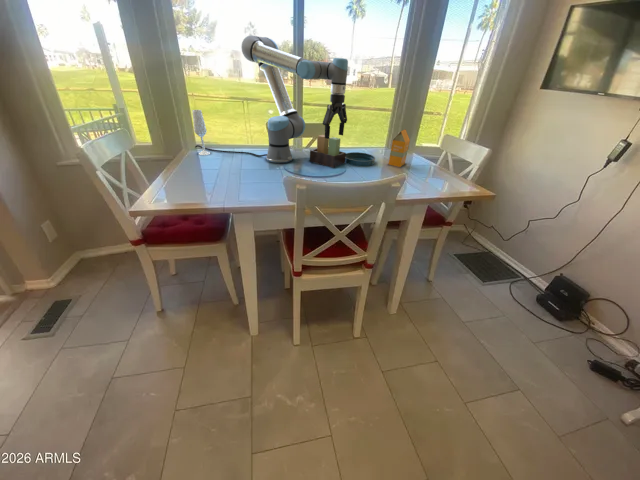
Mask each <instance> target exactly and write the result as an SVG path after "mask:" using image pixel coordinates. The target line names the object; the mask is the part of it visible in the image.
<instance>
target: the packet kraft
mask: <svg viewBox="0 0 640 480" xmlns="http://www.w3.org/2000/svg"><path fill="white" fill-rule="evenodd" d="M328 147H329V139H327V138H325V134H319V135H317V145H316V148H317V152H321V153H325V154H328Z"/></svg>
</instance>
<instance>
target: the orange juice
mask: <svg viewBox="0 0 640 480" xmlns="http://www.w3.org/2000/svg"><path fill="white" fill-rule="evenodd" d="M410 142H411V139H410V137H409V134H408V132H407V129H402V130H401V131H400V132H399V133H398V134H397V135H396V136H395V137H394V138H393V139H392V143H391V148H390V151H389V152H390V153H389V159H388V164H387V165H388V166H393V167H398V168H401V167H402V166H404V165H405V164H406V160H407V155H408V151H409V146H410Z"/></svg>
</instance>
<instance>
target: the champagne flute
mask: <svg viewBox="0 0 640 480" xmlns="http://www.w3.org/2000/svg"><path fill="white" fill-rule="evenodd" d="M191 113H192V121H193V132H194V133H195V134H196V135H197V136H198V137H200V141H201V146H202V148H201V149H202V150H201V151H200V152H199V153H198V155H200V156H208V155H210V154H211V152H209V151H208V150H206V149H205V148H206V147H205V142H204V137H205V135H206V134H207V132H208V131H207V126H206V123H205V118H204V115H203V111H202V109H192V112H191Z"/></svg>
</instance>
